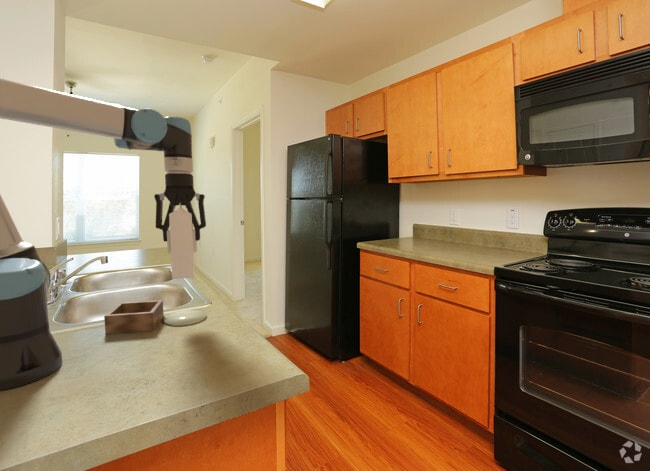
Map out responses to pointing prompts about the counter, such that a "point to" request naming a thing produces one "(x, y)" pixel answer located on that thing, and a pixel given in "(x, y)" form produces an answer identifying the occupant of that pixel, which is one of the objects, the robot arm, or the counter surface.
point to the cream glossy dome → (184, 318)
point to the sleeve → (134, 317)
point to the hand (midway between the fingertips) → (182, 251)
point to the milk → (181, 244)
